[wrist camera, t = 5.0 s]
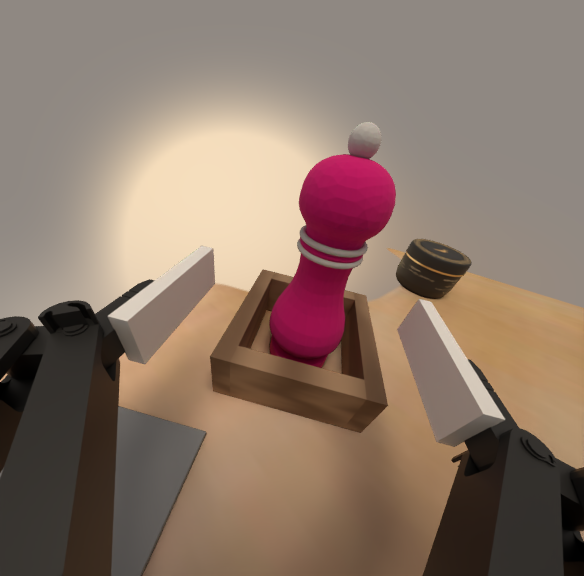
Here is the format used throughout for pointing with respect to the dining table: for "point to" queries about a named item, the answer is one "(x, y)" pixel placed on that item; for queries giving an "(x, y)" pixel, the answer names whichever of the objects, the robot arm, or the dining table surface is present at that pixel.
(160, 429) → the mat
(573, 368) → the dining table surface
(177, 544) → the dining table surface
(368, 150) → the pepper mill
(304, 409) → the walnut box
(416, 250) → the jar
